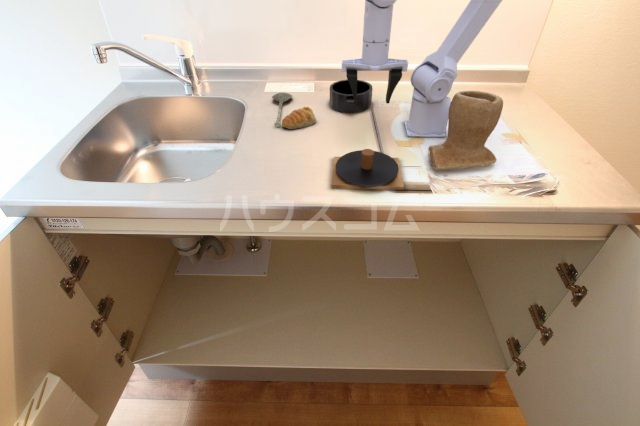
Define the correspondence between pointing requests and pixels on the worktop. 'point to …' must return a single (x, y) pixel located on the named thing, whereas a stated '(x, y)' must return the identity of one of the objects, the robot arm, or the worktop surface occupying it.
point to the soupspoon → (280, 104)
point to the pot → (350, 97)
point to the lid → (367, 168)
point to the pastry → (299, 118)
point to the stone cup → (468, 131)
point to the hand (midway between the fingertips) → (371, 101)
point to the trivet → (341, 184)
